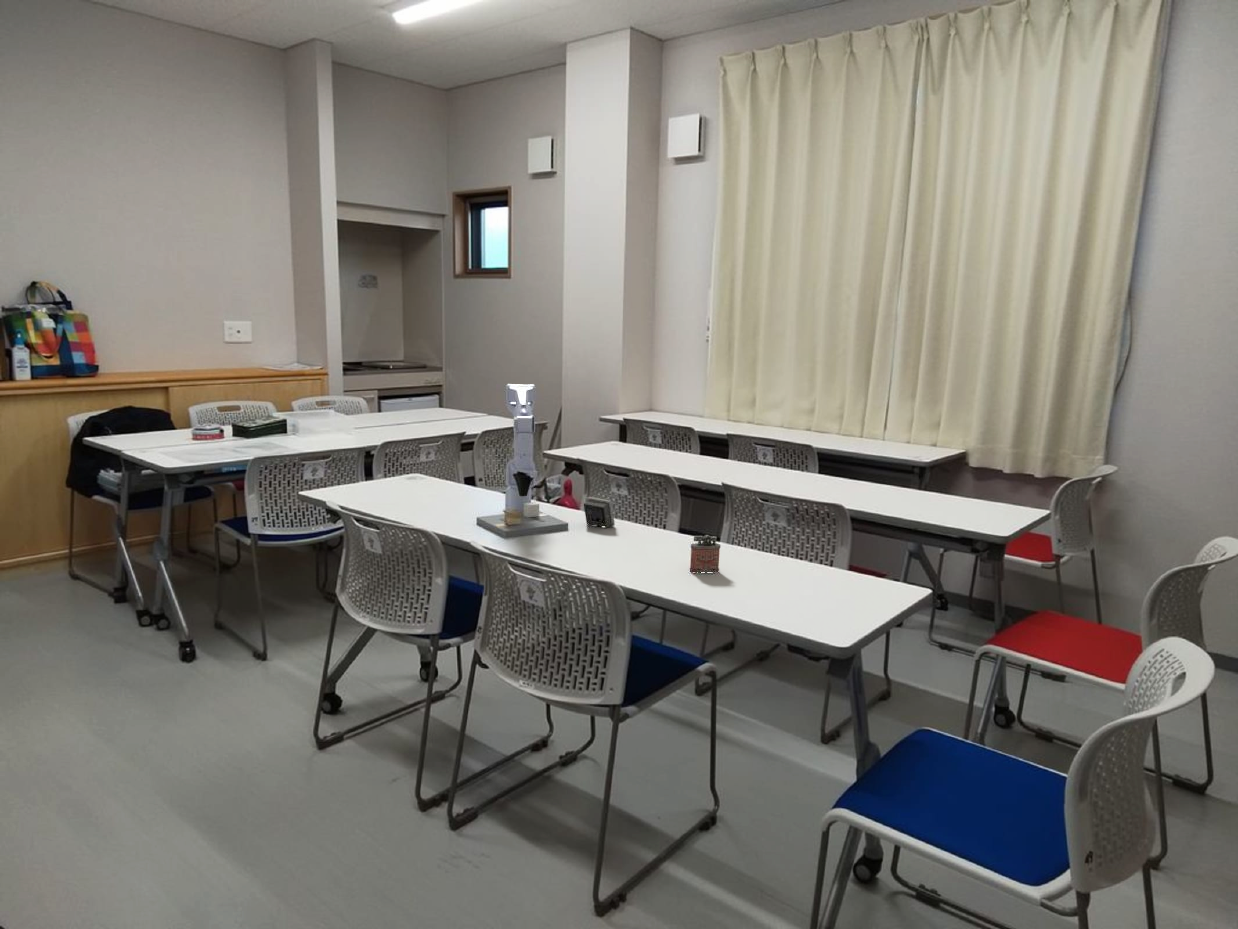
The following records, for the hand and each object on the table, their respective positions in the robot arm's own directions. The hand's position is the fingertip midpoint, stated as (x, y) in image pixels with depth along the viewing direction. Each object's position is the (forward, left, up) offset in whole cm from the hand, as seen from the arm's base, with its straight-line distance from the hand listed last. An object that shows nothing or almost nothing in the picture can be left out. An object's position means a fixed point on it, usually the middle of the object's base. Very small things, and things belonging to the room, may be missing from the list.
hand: (523, 495), depth 263 cm
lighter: (+67, +19, -10) cm, 70 cm away
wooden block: (+5, -6, -7) cm, 11 cm away
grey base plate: (+2, -1, -9) cm, 10 cm away
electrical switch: (+13, +21, -10) cm, 26 cm away
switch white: (-1, +4, -7) cm, 8 cm away
